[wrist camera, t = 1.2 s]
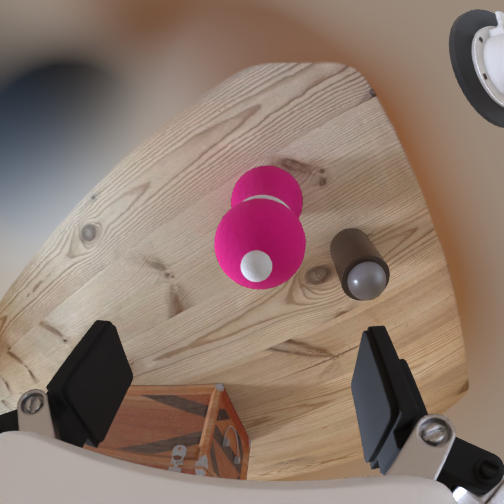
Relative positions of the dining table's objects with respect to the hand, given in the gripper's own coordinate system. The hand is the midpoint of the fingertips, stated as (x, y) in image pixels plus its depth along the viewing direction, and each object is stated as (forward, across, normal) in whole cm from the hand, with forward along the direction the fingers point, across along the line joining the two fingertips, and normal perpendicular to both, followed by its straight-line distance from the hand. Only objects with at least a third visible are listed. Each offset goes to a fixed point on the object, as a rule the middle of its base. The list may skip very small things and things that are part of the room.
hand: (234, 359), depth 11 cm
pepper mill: (+27, 0, 0) cm, 27 cm away
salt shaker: (+26, -10, +7) cm, 29 cm away
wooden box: (+27, +26, +45) cm, 58 cm away
